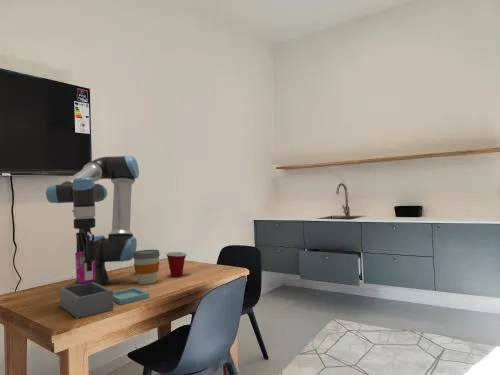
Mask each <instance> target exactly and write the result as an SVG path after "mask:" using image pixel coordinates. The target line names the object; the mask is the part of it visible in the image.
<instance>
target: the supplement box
mask: <svg viewBox="0 0 500 375" xmlns="http://www.w3.org/2000/svg"><path fill="white" fill-rule="evenodd" d="M94 253H95V252H94ZM74 255H75V256H74V259H75V260H74V261H75V281H76V282H78V283H79V284H85V283H90V282H96V274H95V261H93V279H90V280H85V272H84V263H83V262H84V261H85V255H84V251H83V252H77V251H76V252H75V254H74Z"/></svg>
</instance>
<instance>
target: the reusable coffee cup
mask: <svg viewBox="0 0 500 375" xmlns="http://www.w3.org/2000/svg"><path fill="white" fill-rule="evenodd" d="M160 256H161V255H160V250H159V249H142V250H136V252H134V257H133V258H132V259H133V260H134V261H135V264H133V266H134V274H135V273H136V274H135V275H136V279H137V284H138V285H139V284H140V285H149V284H154V283H157V279H158V272H159V268H160Z"/></svg>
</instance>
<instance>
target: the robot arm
mask: <svg viewBox="0 0 500 375" xmlns="http://www.w3.org/2000/svg"><path fill="white" fill-rule="evenodd" d="M139 170H140V169H139V166H138V162H137V160H136V158H135V157H134V156H131V155H130V156H129V155H128V156H127V155H124V156H123V155H122V156H117V155H116V156H103V157H98V158H96V159H94V160H92V161H89V162H88V163H86V164H85V165H84V166H83V167H82V169H81V170H80V171H78V172H76V173H75V174H74V175H72V176H71V177H69V178H67V179H66V180H65V181H63V182H61V183H60V184H52V185H51V184H50V185H48V186H47V188H46V191H45V197H46V200H47V201H48V202H49V203H51V204H68V203H69V204H70V203H71V204H73V206H72V207H73V208H72V209H71V212H72V213H73V228H74V230H75V229H76V230H78V232H76V233H75V236H76V237H75V238H76V252H83V251H84V255H85V261H84V262H83V263H84V272H85V280H90V279H93V261H95V274H96V282H95V283H97V284H99V285H101V286H103V285H107V284H108V283H109V282H110V277H109V274H108V271H107V269H106V263H113V262H114V263H115V262H121V263H123V262H128V261H131V260H132V259H134V258H133V257H134V252H136V251H137V246H138V244H137V238H136V237H135V236H134V233H133V232H132V231H131V210H132V208H131V207H132V189H133V188H132V185H134V183H136V179H138V178H139V176H140V171H139ZM99 180H110V182H111V183H112V184H113V195H112V196H113V199H112V200H113V201H112V218H111V219H112V220H111V231H110V232H109V233H108V234H107V236H108V237H106V238H105V235H104V234H103V235H96V236H95V234H94V233H93V234H92V228H96V203H100V202H102V201H104V200H105V199H107V196H108V190H107V188H106V187H105V185H103V184H100V183H95V182H97V181H99ZM94 252H95V253H94ZM78 284H79V283H78V282H76V280H75V282H74V285H78Z"/></svg>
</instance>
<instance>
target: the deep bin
mask: <svg viewBox="0 0 500 375" xmlns="http://www.w3.org/2000/svg"><path fill="white" fill-rule="evenodd" d="M113 292H114V290H112V289H110V288H108V287H106V286H103V285H99V284H97V283H95V282H90V283H85V284H78V285H75V284H74V285H68V286H62V287H59V306H60V307H61V306H62V307H63V308H62V307H61V308H62V309H64V310H65V309H66V310H67V311H66V310H65V311H66V312H68V313H69V312H70V313H71V314H70V313H69V314H70V315H72V314H73V315H74V316H75V317H74V316H73V315H72V316H73V317H74V318H76V317H77V318H78V319H80V318H79V317H82V316H86V317H88V316H87V315H90V316H92V315H91V314H94V315H96V314H95V313H98V314H101V313H100V312H102V313H105V312H104V311H106V312H109V310H110V311H114V301H113ZM77 318H76V319H77ZM82 318H83V317H82Z"/></svg>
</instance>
